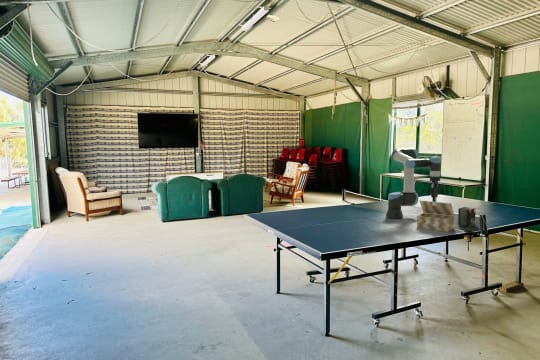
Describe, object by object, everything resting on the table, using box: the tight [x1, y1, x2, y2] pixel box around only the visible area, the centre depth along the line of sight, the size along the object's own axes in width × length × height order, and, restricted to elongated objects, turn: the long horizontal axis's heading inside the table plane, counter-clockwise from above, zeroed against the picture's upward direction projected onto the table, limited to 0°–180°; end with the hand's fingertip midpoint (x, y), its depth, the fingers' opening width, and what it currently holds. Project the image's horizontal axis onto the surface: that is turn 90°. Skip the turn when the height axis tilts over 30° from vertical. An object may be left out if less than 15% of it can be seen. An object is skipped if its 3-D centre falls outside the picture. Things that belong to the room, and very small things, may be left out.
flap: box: [419, 200, 455, 217], centre depth 287 cm, size 24×14×1 cm
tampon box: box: [457, 206, 477, 228], centre depth 291 cm, size 11×9×15 cm
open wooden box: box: [416, 213, 455, 233], centre depth 286 cm, size 24×14×10 cm, turn 47°
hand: (434, 205), depth 282 cm, fingers closed
